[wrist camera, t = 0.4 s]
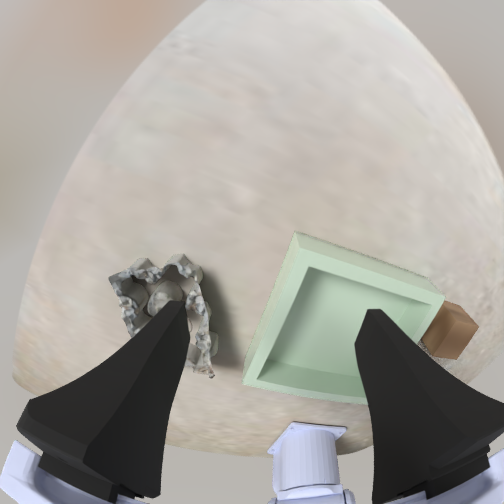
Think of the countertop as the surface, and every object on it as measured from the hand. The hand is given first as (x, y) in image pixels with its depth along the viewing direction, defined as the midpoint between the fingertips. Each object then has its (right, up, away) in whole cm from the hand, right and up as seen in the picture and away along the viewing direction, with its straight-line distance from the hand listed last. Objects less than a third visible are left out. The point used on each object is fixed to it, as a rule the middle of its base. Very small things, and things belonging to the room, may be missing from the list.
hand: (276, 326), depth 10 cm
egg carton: (-8, -2, +13) cm, 16 cm away
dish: (+7, -3, +12) cm, 14 cm away
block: (+18, -4, +12) cm, 22 cm away
